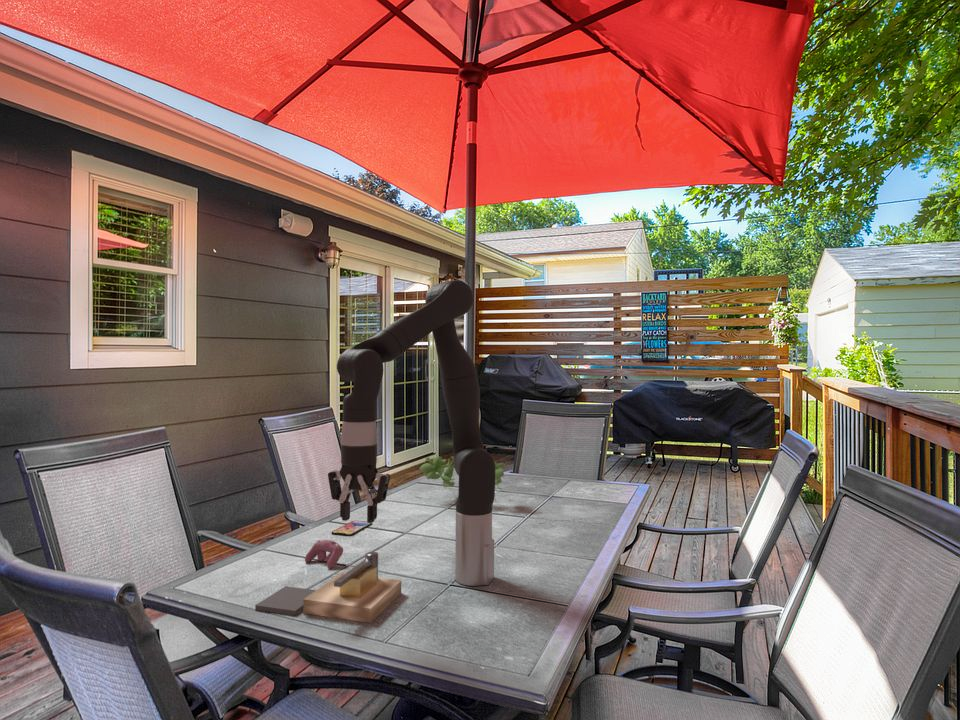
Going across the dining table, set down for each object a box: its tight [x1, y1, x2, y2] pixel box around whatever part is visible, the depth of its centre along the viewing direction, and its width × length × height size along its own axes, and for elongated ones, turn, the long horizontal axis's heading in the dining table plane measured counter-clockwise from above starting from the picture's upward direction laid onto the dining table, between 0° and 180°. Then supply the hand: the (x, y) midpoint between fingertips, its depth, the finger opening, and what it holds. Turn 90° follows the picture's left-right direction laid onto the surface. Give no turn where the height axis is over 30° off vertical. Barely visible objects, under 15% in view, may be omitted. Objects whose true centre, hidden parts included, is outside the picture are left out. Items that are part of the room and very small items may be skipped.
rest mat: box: [254, 585, 317, 616], centre depth 128 cm, size 10×11×1 cm
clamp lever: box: [334, 551, 379, 587], centre depth 127 cm, size 18×3×6 cm, turn 164°
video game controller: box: [304, 539, 344, 569], centre depth 154 cm, size 10×5×7 cm, turn 60°
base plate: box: [302, 572, 402, 624], centre depth 128 cm, size 16×16×3 cm
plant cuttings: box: [419, 455, 505, 501], centre depth 222 cm, size 35×17×22 cm
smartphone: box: [331, 520, 373, 537], centre depth 185 cm, size 7×1×15 cm
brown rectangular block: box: [340, 564, 377, 598], centre depth 128 cm, size 5×8×4 cm, turn 164°
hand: (358, 520), depth 122 cm, fingers open, 5 cm apart
